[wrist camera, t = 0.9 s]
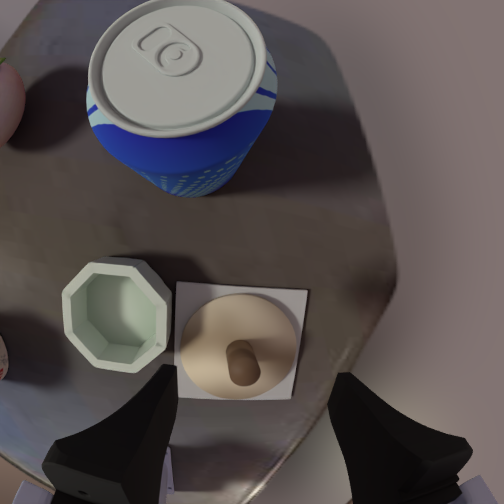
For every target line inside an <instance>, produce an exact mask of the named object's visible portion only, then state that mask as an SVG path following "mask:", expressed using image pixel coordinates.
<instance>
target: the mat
mask: <svg viewBox="0 0 504 504" xmlns="http://www.w3.org/2000/svg"><path fill="white" fill-rule="evenodd" d="M307 292H308V290H304V289H284V288H266V287H250V286H234V285H220V284H206V283H193V282H181V281H177V286H176V309H175V363H174V365H175V366H177V378H178V397H184V398H199V399H222V400H234V399H225V398H220V397H217V396H214V395H211V394H209V393H207V392H206V391H204V390H202V389H201V388H200V387H198V386H197V385H196V384H195V383H194V382H193V381H192V380H191V379H190V377H189V376H188V375H187V373H186V371H185V369H184V367H183V364H182V360H181V356H180V344H181V338H182V334H183V330H184V328H185V325H186V324H187V322H188V320H189V319H190V317H191V316H192V315H193V313H194V312H195V311H196V310H197V309H199V308H200V307H201V306H202V305H204V304H205V303H207V302H208V301H210V300H212V299H214V298H217V297H220V296H223V295H227V294H234V293H245V294H252V295H256V296H259V297H262V298H264V299H267V300H268V301H270V302H272V303H273V304H275V305H276V306H277V307H278V308H279V309H280V310H281V311H282V312H283V313H284V314H285V315H286V317H287V318H288V319H289V321H290V323H291V325H292V326H293V329H294V332H295V336H296V354H295V359H294V362H293V364H292V366H291V368H290V370H289V372H288V373H287V375H286V376H285V377H284V378H283V380H282V381H281V382H280V383H279V384H277V385H276V386H275V387H274V388H272V389H271V390H269V391H267V392H265V393H263V394H261V395H258V396H256V397H252V398H247V399H237V400H275V399H291V393H292V388H293V382H294V377H295V371H296V365H297V359H298V353H299V347H300V341H301V334H302V327H303V321H304V314H305V307H306V299H307Z"/></svg>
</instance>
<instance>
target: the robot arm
mask: <svg viewBox="0 0 504 504" xmlns="http://www.w3.org/2000/svg"><path fill="white" fill-rule="evenodd" d="M177 405H178V378H177V366H175V365H167V364H163V365H161V366H160V368H159V369H158V370H157V372H156V373H155V374H154V375H153V376H152V378H151V379H150V380H149V381H148V382H147V383H146V384H145V385H144V386H143V388H142V389H141V390H140V391H139V392H138V393H137V394H136V395H135V396H134V397H132V398H131V399H130V400H129V401H128V402H127V403H126V404H125V405H123V406H122V407H121V408H120V409H118V410H117V411H116V412H114V413H113V414H112V415H110V416H109V417H107V418H105V419H104V420H102V421H101V422H99V423H97V424H96V425H94V426H92V427H90V428H88V429H85V430H83V431H81V432H79V433H76V434H74V435H71V436H68V437H65V438H62V439H59V440H55V442H54V444H53V445H52V446H51V448H50V449H49V451H48V453H47V455H46V457H45V459H44V461H43V463H42V469H43V471H44V473H45V475H46V476H47V478H48V479H49V480H50V482H51V483H52V484H53V486H54V487H55V488H56V492H55V494H54V495H53V494H51V493H50V492H48V491H47V490H45V489H43V488H40V487H38V486H36V485H34V484H32V483H30V482H28V481H26V480H23V481H22V483H21V486H20V488H19V490H18V492H17V494H16V496H15V498H14V500H13V503H12V504H166V495H167V494H174V483H173V474H172V463H171V451H170V448H169V447H168V443H169V440H170V436H171V433H172V429H173V426H174V422H175V418H176V412H177ZM327 405H328V410H329V415H330V419H331V423H332V426H333V429H334V432H335V435H336V437H337V440H338V443H339V446H340V448H341V451H342V454H343V456H344V460H345V463H346V467H347V471H348V476H349V481H350V486H351V492H352V500H353V504H498V503H497V501H496V500H495V498H494V496H493V495H492V493H491V491H490V490H489V488H488V487H487V485H486V483H485V482H484V480H483V479H482V477H481V476H480V475H478V476H476V477H474V478H472V479H470V480H468V481H466V482H465V483H463V484H462V485H460V486H458V484H457V483H456V482H458V480H459V477H458V476H457V473H458V472H459V471H460V470H461V469H462V468H463V467H464V465H465V464H466V463H467V462H468V460H469V459H470V457H471V456H472V453H473V449H472V448H471V446H470V445H469V444H468V442H467V441H466V439H465V438H462V437H458V436H454V435H449V434H446V433H443V432H440V431H437V430H434V429H431V428H429V427H427V426H424V425H422V424H420V423H418V422H416V421H414V420H412V419H410V418H408V417H407V416H405V415H403V414H402V413H400V412H399V411H397V410H396V409H394V408H393V407H391V406H390V405H388V404H387V403H386V402H385V401H383V400H382V399H381V398H380V397H378V396H377V395H376V394H375V393H374V392H372V391H371V390H370V389H369V388H368V387H367V386H365V385H364V384H363V383H362V382H361V381H359V379H357V378H356V377H355V376H354V375H353V374H351V373H350V372H346V373H338V374H337V377H336V380H335V383H334V386H333V389H332V392H331V395H330V398H329V401H328V404H327ZM166 452H167V453H166Z"/></svg>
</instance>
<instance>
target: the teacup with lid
mask: <svg viewBox="0 0 504 504" xmlns="http://www.w3.org/2000/svg"><path fill="white" fill-rule="evenodd" d="M7 370H8V354H7V350H6V347H5V344H4V341H3V339H2V337H1V335H0V380H1V379H2V378H3V377H4V376H5V375H6V373H7Z"/></svg>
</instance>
